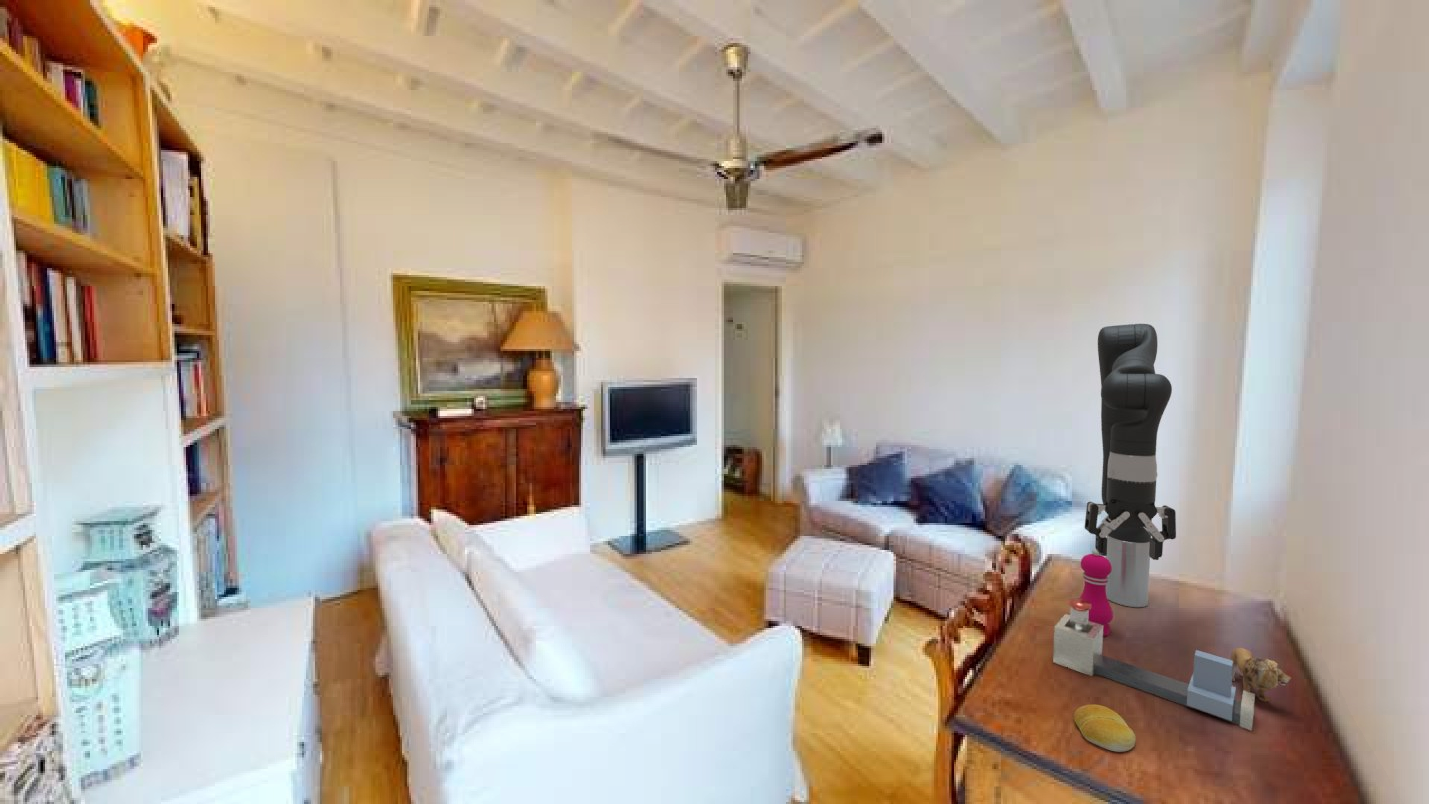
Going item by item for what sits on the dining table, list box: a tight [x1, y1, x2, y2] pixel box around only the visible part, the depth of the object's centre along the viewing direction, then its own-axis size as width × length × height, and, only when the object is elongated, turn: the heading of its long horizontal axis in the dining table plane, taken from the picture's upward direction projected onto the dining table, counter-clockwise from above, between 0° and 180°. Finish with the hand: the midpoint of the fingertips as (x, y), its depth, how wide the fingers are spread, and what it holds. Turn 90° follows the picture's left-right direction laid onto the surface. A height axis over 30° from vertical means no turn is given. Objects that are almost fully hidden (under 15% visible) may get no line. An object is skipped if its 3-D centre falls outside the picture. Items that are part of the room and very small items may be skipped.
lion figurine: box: [1230, 647, 1292, 702], centre depth 103 cm, size 15×5×9 cm, turn 163°
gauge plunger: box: [1068, 597, 1091, 632], centre depth 113 cm, size 4×4×6 cm
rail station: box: [1052, 613, 1256, 732], centre depth 105 cm, size 8×30×8 cm, turn 42°
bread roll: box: [1073, 703, 1137, 753], centre depth 92 cm, size 8×9×4 cm
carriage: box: [1187, 649, 1237, 721], centre depth 98 cm, size 7×6×9 cm
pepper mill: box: [1079, 548, 1114, 637], centre depth 126 cm, size 7×7×20 cm
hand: (1127, 556), depth 104 cm, fingers open, 8 cm apart
